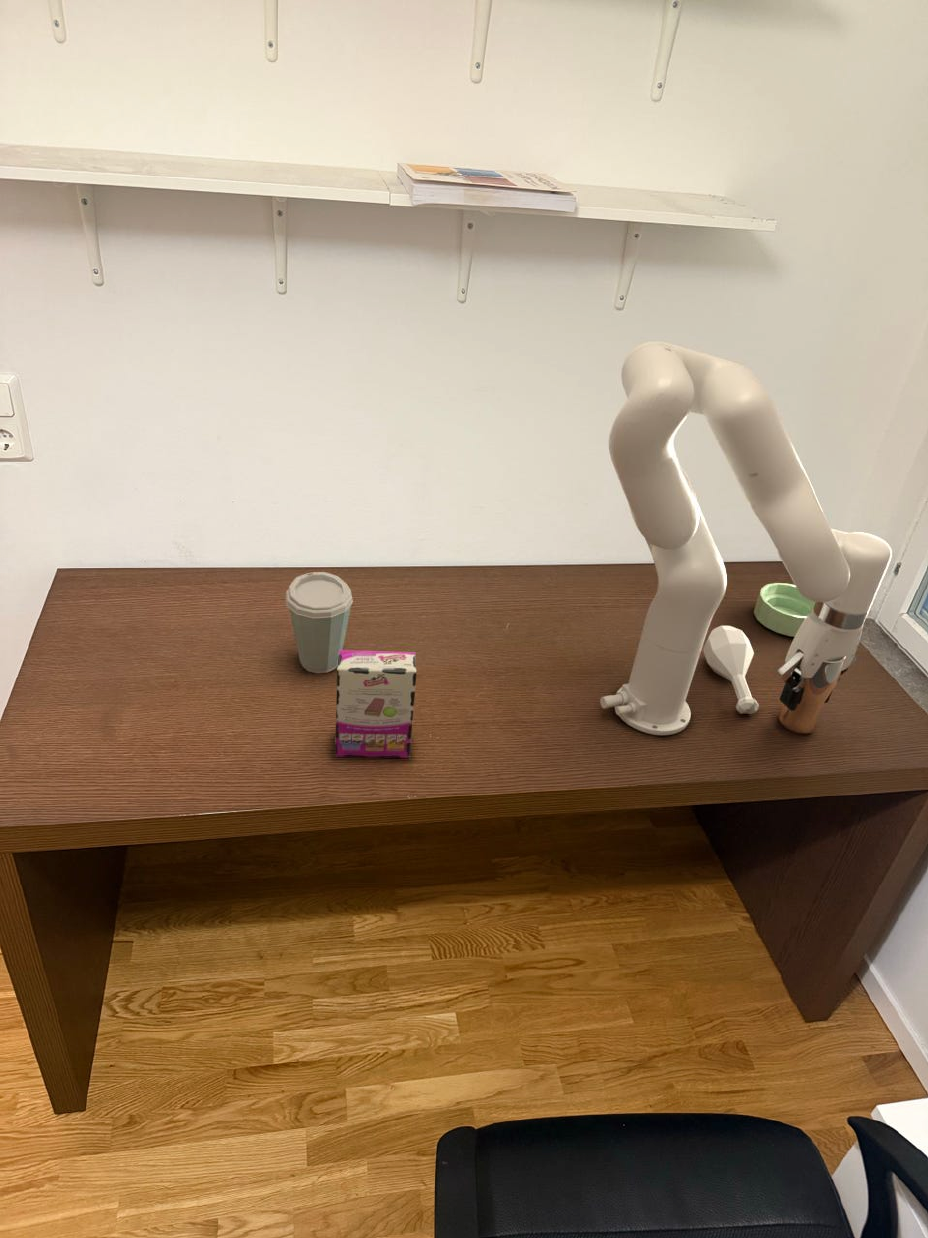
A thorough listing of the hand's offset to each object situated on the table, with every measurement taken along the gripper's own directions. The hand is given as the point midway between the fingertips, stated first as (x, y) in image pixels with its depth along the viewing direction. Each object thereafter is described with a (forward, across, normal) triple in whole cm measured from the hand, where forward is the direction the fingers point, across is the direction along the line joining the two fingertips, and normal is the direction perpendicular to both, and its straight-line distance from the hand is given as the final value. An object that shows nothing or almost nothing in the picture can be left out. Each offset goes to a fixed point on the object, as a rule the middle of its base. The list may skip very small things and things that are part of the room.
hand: (803, 700), depth 149 cm
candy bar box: (+5, +69, -15) cm, 71 cm away
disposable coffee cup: (+5, +71, -37) cm, 80 cm away
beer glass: (+5, 0, 0) cm, 5 cm away
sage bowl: (+5, -20, -26) cm, 33 cm away
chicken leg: (+5, +4, -12) cm, 14 cm away
